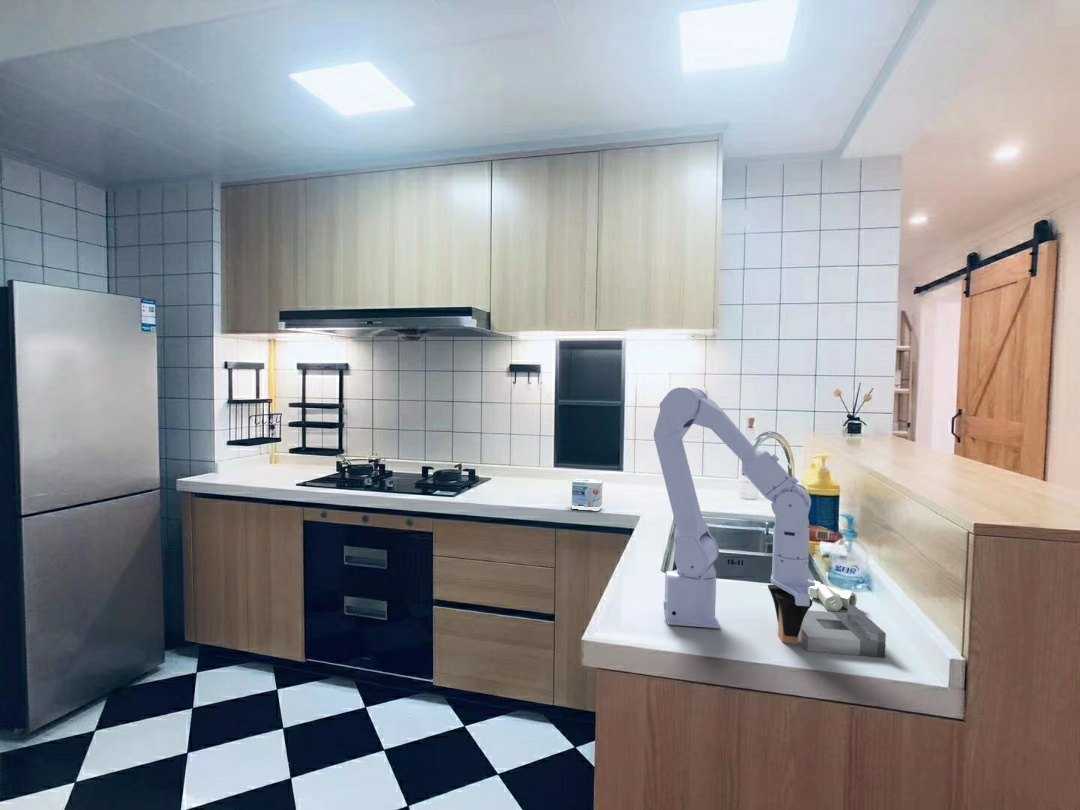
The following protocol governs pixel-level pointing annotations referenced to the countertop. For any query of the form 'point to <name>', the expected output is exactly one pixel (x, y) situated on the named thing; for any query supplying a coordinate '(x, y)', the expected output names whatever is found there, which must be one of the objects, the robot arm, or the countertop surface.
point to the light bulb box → (587, 493)
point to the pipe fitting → (832, 596)
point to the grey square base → (842, 633)
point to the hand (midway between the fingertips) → (788, 631)
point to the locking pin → (781, 633)
